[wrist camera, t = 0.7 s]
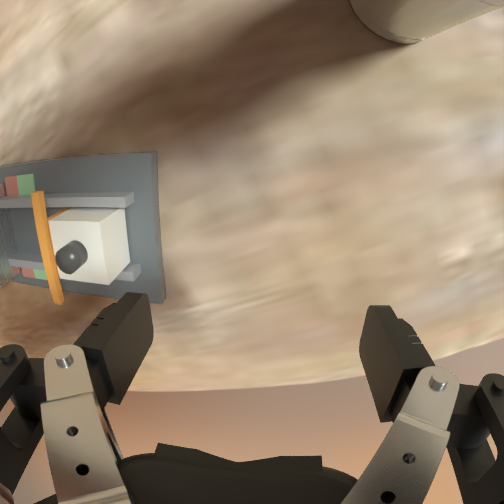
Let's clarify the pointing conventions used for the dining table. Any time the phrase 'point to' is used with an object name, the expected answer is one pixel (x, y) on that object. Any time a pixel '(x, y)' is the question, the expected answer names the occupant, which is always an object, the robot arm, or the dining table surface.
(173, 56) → the dining table surface
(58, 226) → the spring plunger
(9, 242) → the brushed metal plate
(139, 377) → the dining table surface
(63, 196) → the tester base
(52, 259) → the peak pointer
